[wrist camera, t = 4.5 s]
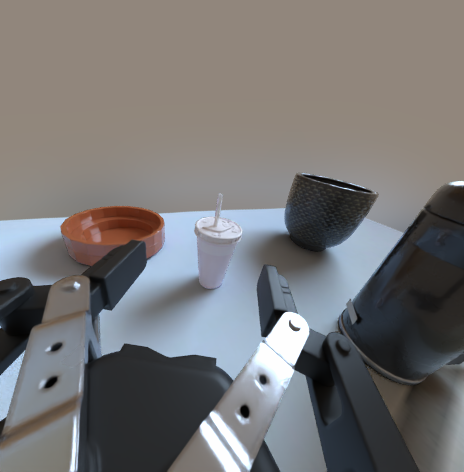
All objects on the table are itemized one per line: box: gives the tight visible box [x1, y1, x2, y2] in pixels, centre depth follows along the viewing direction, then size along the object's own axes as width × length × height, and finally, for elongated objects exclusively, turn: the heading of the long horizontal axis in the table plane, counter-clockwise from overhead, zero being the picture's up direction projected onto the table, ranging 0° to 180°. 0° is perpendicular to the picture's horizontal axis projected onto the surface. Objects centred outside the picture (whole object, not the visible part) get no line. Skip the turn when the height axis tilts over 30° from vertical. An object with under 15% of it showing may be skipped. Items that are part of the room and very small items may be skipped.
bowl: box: [61, 206, 165, 266], centre depth 30 cm, size 14×14×4 cm
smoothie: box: [194, 194, 243, 289], centre depth 24 cm, size 6×6×14 cm
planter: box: [285, 173, 378, 251], centre depth 42 cm, size 17×17×16 cm
